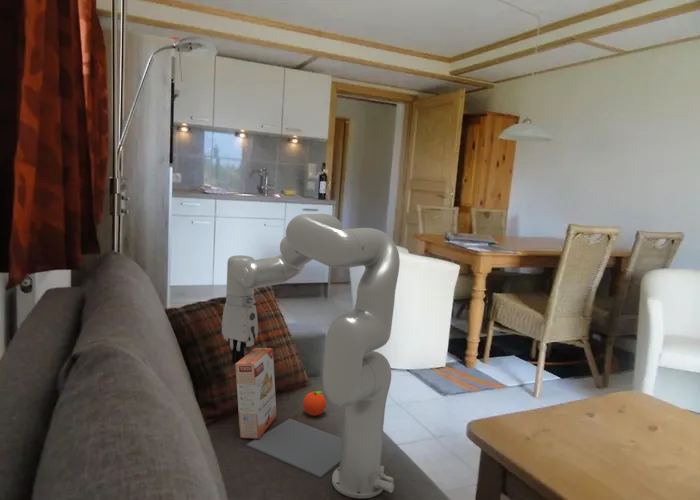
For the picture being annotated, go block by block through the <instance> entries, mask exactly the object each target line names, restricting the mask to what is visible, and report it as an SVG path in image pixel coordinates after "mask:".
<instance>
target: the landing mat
mask: <svg viewBox="0 0 700 500" xmlns="http://www.w3.org/2000/svg"><path fill="white" fill-rule="evenodd" d="M246 446H247V447H249V448H250V449H252V450H255V451H258V452H259V453H263V454H264V455H267V456H269V457H270V458H271V457H272V458H274V459H275V460H278V461H279V462H280V461H281V462H282V463H284V464H288V465H289V466H291V467H294V468H296V469H298V470H300V471H303V472H305V473H308V474H310V475H312V476H314V477H317V478H318V479H322V478H323V477H324V476H326V475H327V474H328V473H329V472H331V471H332V470H333V469H334V468H335V467H336V466H338V464H339V465H340V451H341V436H337V435H334V434H332V433H329V432H326V431H324V430H321V429H319V428H316V427H313V426H312V425H311V426H310V425H308V424H305V423H302V422H301V421H298V420H294V419H292V418H289V419H287V420H285V421H284V422H282V423H280V424H279V425H277V426H275V427H273V428H271V429H270V430H268V431H267V432H266V431H265V432H264V433H263V434H262V436H261V437H260V438H259V439H253V440H251V441H250V442H249V443H248V442H247V444H246Z"/></svg>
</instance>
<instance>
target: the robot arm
mask: <svg viewBox="0 0 700 500" xmlns="http://www.w3.org/2000/svg"><path fill="white" fill-rule="evenodd" d="M343 227H344V226H343V225H342V222H341V221H340V220H339V219H338V218H337V217H335V216H333V215H332V214H329V213H328V214H327V213H303V214H298V215H296V216H294V217H293V218H292V219H291V220H290V221H289V222H288V224H287V226H286V229H285V237H283V238H282V239H281V240H280V241H281V242H280V245H279V251H280V252H279V253H280V254H279V255H278V256H275V257H269V258H268V257H267V258H259V259H258V258H257V259H254V257H251V255H233V256H229V258H228V259H227V266H226V293H225V294H226V297H225V304H224V307H223V313H222V320H221V334H222V335H223V339H224V340H225V341H227V342H228V344H229V346H230V347H229V348H230V349H231V363H232V364H234V365H235V364H236V363H237V362H238V361H239V360H241V359H242V358H243V357H244V356H245V350H246V349H247V347H248V348H249V347H253V346H254V345H255V340H256V339H258V336H259V335H258V334H259V330H258V329H259V322H258V321H259V320H258V313H257V312H258V311H257V308H256V305H254V304H256V299H255V298H254V297H255V295H254V294H255V289H258V288H259V289H260V288H265V287H270V286H276V285H281V284H283V283H286V282H287V281H289V280H291V279H293V278H294V277H295V276H296V277H297V275H299V274H300V273H301V272H302V271H303V270H304V268H305V265H306V264H308V263H310V262H311V261H312V260H313V261H315V262H319V263H321V264H322V265H325V266H327V267H330V268H333V269H340V270H341V269H342V270H343V269H350V268H357V267H362V266H363V267H364V272H363V274H362V275H361V278H360V279H359V282H358V285H357V289H356V299H355V304H354V308H353V310H352V311H349V312H348V311H347V312H345V313H342V314H340V315H338V316H337V317H335V319H333V321H332V322H331V323H330V325H329V327H328V330H327V332H326V333H327V334H326V339H325V347H324V348H325V349H324V359H323V369H322V388H323V392H324V393H325V394H324V395H325V398H326V399H327V400H328V401H329V402H330V403H331V404H332V405H334V407H337V408H343V411H342V425H341V436H340V438H341V451H340V463H339V467H337V468H336V469H335V470H334V471H333V472H332V475H331V485H333V487H334V489H335V490H336V491H337V492H338V493H340V494H342V495H344V496H346V497H348V498H353V499H358V500H359V499H363V500H364V499H371V498H373V497H377V496H378V495H380V494H381V493H382V492H383V491H385V492H388V493H393V491H394V488H395V484H394V480H395V479H394V477H391V476H389V475H387V474H385V466H384V465H382V464H381V460H382V448H383V446H382V445H383V438H384V437H383V436H384V435H383V433H384V425H385V412H386V411H385V410H386V403H387V399H388V395H389V391H390V387H391V381H392V367H391V365H390V364H391V363H390V362H389V360H388V359H387V357H386V356H385V355H384V354H382V353H380V352H378V351H375V350H378V349H380V348H382V347H384V346H385V345H386V344H387V343H388V342H389V340H390V338H391V334H392V326H393V319H394V318H393V316H394V309H395V297H396V296H395V295H396V289H397V283H398V277H399V272H400V265H401V264H400V261H401V260H400V254H399V250H398V248H397V245H396V243H395V242H394V240H393V239H392V238H391V237H390V236H389V235H388V234H387V233H386V232H384V231H382V230H381V229H377V228H373V227H355V228H343Z"/></svg>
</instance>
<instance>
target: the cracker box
mask: <svg viewBox="0 0 700 500" xmlns="http://www.w3.org/2000/svg"><path fill="white" fill-rule="evenodd" d="M274 362H275V361H274V349H273V348H271V347H254V349H252V350H251V351H249V352H248V353H247V354H245V355H244V357H243V358H242V359H241V360H239V361H238V362H237V363H236V364H235V363H234V365H235V376H236V378H235V379H236V381H235V382H236V390H237V391H236V393H237V408H238V423H239V424H238V425H239V437H240V438H241V439H253V440H255V439H259V438H260V437H261V436H262V435H263V434H265V433H266V430H267V429H268V428H269V427H270V426H271V424H272V423H273V422H274V421H275V419H276V418H277V401H276V387H275V386H276V384H275V367H274V366H275V364H274Z"/></svg>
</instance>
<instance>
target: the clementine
mask: <svg viewBox="0 0 700 500" xmlns="http://www.w3.org/2000/svg"><path fill="white" fill-rule="evenodd" d="M324 395H325V392H324V391H321V390H319V391H317V390H316V391H310V392H308V393H307V394H306V395H305V397H304V398H303V402H302V405H303V406H302V408H303V409H304V411H305V412H306V413H307V414H308V415H310V416H319V415H321V414H322V413H323V412H325V409H326V405H327V398H326V396H324Z"/></svg>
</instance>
